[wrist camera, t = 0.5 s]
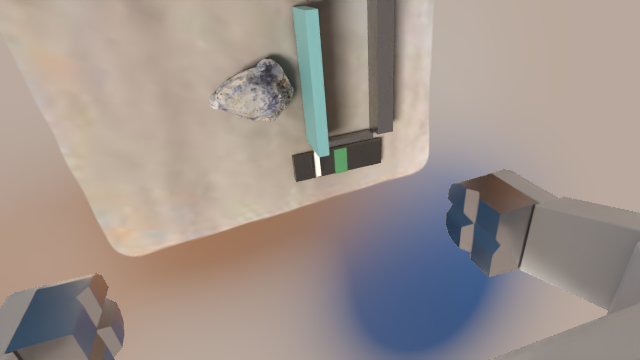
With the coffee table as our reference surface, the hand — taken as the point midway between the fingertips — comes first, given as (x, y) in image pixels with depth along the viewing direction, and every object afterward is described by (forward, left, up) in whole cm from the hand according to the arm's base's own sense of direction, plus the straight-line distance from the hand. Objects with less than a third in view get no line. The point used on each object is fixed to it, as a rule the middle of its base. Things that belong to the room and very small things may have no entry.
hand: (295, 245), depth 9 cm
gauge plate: (+10, +11, -42) cm, 45 cm away
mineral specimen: (+7, +3, -43) cm, 44 cm away
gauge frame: (+10, +15, -43) cm, 46 cm away
